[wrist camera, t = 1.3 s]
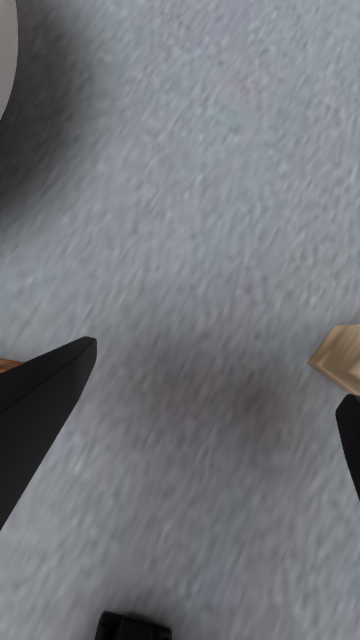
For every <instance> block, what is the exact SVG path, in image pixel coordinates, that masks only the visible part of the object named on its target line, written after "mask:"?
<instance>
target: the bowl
mask: <svg viewBox="0 0 360 640" xmlns="http://www.w3.org/2000/svg"><path fill="white" fill-rule="evenodd" d="M17 55H18V20H17V9H16V1H15V0H0V120H1V118H2V115H3V113H4V111H5V108H6V106H7V103H8V100H9V97H10V94H11V90H12V86H13V82H14V78H15V72H16V66H17Z"/></svg>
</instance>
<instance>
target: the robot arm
mask: <svg viewBox="0 0 360 640" xmlns="http://www.w3.org/2000/svg"><path fill="white" fill-rule="evenodd" d="M96 358H97V340H96V339H95V338H92V337H87V336H84V337H82V338H79V339H77V340H75V341H73V342H70V343H68V344H66V345H63V346H61V347H59V348H57V349H54V350H52V351H50V352H47V353H45V354H43V355H41V356H38V357H36V358H34V359H31V360H29V361H27V362H25V363H22V364H20V365H18V366H16V367H13V368H11V369H9V370H6V371H4V372H2V373H0V530H1V529H2V527H3V525H4V524H5V522H6V520H7V519H8V517H9V515H10V514H11V512H12V510H13V509H14V507H15V505H16V504H17V502H18V500H19V499H20V497H21V495H22V494H23V492H24V490H25V489H26V487H27V485H28V484H29V482H30V480H31V479H32V477H33V475H34V474H35V472H36V470H37V469H38V467H39V465H40V464H41V462H42V460H43V459H44V457H45V455H46V454H47V452H48V450H49V449H50V447H51V445H52V444H53V442H54V440H55V439H56V437H57V435H58V434H59V432H60V430H61V429H62V427H63V425H64V424H65V422H66V420H67V419H68V417H69V415H70V414H71V412H72V410H73V408H74V407H75V405H76V403H77V402H78V400H79V398H80V396H81V393H82V391H83V389H84V387H85V385H86V382H87V380H88V378H89V376H90V373H91V371H92V369H93V367H94V365H95V362H96ZM335 415H336V420H337V425H338V429H339V433H340V438H341V442H342V446H343V451H344V455H345V458H346V462H347V465H348V468H349V471H350V474H351V477H352V480H353V483H354V486H355V489H356V492H357V495H358V497H359V500H360V396H358V395H354V394H348V395H346V396H345V398H344V399H343V400H342V402H341V403H340V405H339V406H338V408H337V409H336V413H335ZM104 621H106V622H104ZM165 636H167V637H165ZM95 640H172V632H171V630H170V629H168V628H164V627H160V626H156V625H152V624H148V623H144V622H140V621H136V620H132V619H128V618H124V617H120V616H116V615H112V614H108V613H104V614H102V615H101V617H100V620H99V624H98V628H97V632H96V636H95Z"/></svg>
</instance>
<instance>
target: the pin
mask: <svg viewBox="0 0 360 640" xmlns="http://www.w3.org/2000/svg"><path fill="white" fill-rule="evenodd" d="M308 364H310V365H311V366H312V367H314V368H315V369H316V370H318V371H319V372H320V373H322V374H323V375H324V376H326V377H327V378H328V379H330V380H331V381H333V382H334V383H335V384H337V385H338V386H339V387H341V388H342V389H343V390H345V391H346V392H349V393H352V394H355V395H358V396H360V324H356V325H337V326H334V327H333V328H332V330H331V331H330V333H329V334H328V335H327V337H326V338H325V339H324V341H323V342H322V344H321V345H320V346H319V348H318V349H317V351H316V352H315V353H314V355H313V356H312V358H311V359H310V360H309V362H308Z"/></svg>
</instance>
